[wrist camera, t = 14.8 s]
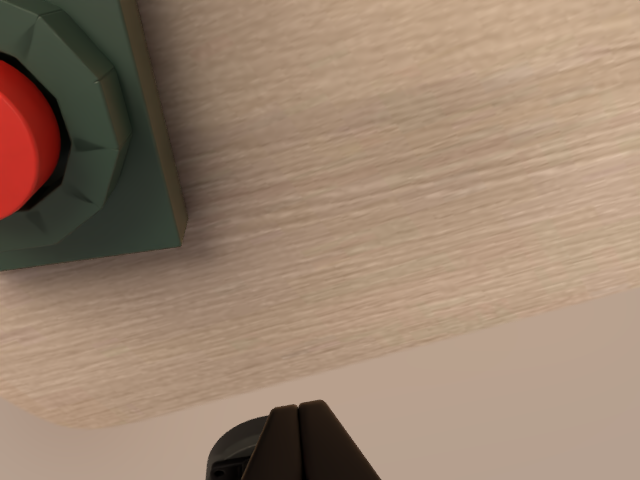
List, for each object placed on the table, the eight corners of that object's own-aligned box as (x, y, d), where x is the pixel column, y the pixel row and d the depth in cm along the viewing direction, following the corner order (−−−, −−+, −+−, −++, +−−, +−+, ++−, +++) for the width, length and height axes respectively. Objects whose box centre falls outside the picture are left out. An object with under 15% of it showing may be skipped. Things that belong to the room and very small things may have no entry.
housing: (188, 219, 19) (175, 275, 16) (-32, 248, 19) (-97, 313, 15) (112, -99, 15) (69, -119, 11) (-185, -70, 14) (-329, -81, 11)
